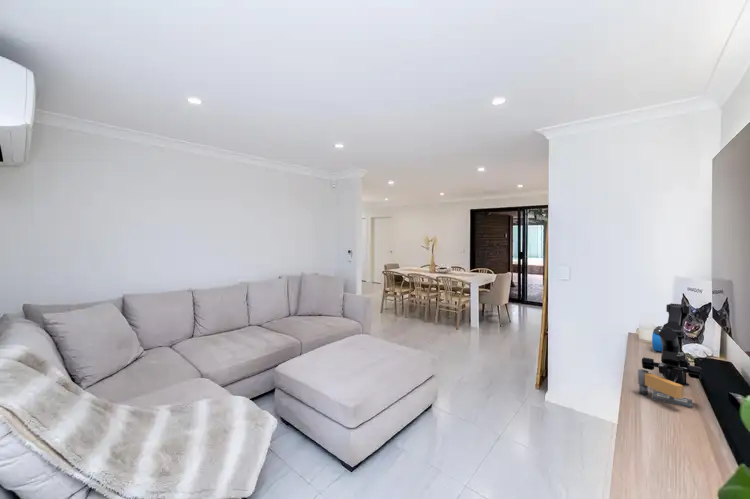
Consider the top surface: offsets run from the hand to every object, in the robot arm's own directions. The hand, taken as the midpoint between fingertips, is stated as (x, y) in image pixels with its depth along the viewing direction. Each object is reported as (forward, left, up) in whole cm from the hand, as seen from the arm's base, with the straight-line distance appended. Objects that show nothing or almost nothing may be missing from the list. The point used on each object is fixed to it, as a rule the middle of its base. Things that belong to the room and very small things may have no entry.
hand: (670, 386), depth 134 cm
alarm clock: (-36, -75, -8) cm, 84 cm away
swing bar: (+3, -2, -3) cm, 5 cm away
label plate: (-3, -4, -7) cm, 9 cm away
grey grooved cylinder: (+5, -8, -7) cm, 12 cm away
